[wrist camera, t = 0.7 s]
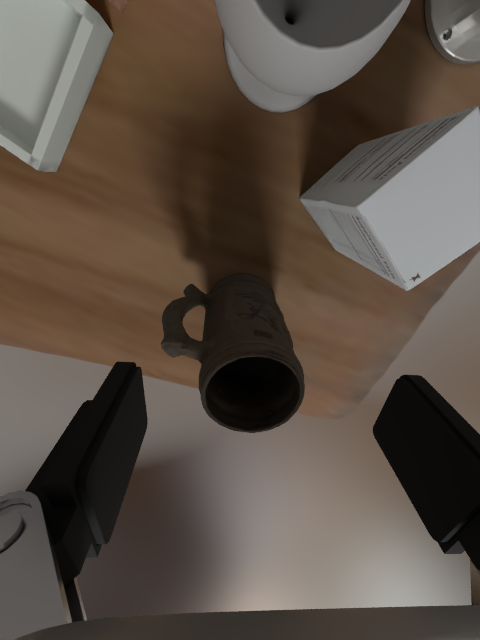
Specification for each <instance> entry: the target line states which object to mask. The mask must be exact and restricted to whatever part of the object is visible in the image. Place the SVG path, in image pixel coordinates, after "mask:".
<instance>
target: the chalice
mask: <svg viewBox="0 0 480 640" xmlns="http://www.w3.org/2000/svg"><path fill="white" fill-rule="evenodd" d="M410 1H411V0H215V4H216V9H217V14H218V18H219V20H220V23H221V25H222V28H223V45H224V50H225V56H226V62H227V65H228V67H229V70H230V73H231V76H232V78H233V80H234V82H235V83H236V85H237V87H238V88H239V90H240V91H241V93H242V94H243V95H244V96H245V97H246V98H247V99H248V100H249V101H250V102H251V103H253V104H254V105H256V106H258V107H259V108H261V109H264V110H267V111H270V112H283V113H284V112H288V111H292V110H296V109H298V108H300V107H301V106H303V105H305V104H307V103H308V102H309V101H310V100H311V99H313V98H314V97H315V96H316V95H317V94H319V93H323V92H326V91H329V90H332V89H334V88H335V87H337V86H338V85H340V84H341V83H343V82H345V81H346V80H348V79H349V78H351V77H352V76H354V75H355V74H356V73H358V72H359V71H360V70H361V69H362V68H363V67H364V66H365V65H366V64H367V63H368V62H369V61H370V60H371V59H372V58H373V57H374V56H375V55H376V53H377V52H378V51H379V49H380V48H381V47H382V45H383V44H384V43H385V41H386V40H387V38H388V37H389V35H390V34H391V32H392V31H393V30H394V28H395V27H396V25H397V24H398V22H399V21H400V19H401V18H402V16H403V14H404V13H405V11H406V9H407V7H408V5H409V3H410Z"/></svg>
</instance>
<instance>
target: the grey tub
mask: <svg viewBox="0 0 480 640" xmlns="http://www.w3.org/2000/svg"><path fill="white" fill-rule="evenodd" d="M112 37H113V32H112V31H111V30H110V28H109V27H108V25H107V24H106V23H105V21H104V20H103V19H102V17H101V16H100V14H99V13H98V12H97V11H96V10H95V9H94V8H93V7H92V6H90V5H89V4H88V3H87V2H86V1H85V0H0V145H1V146H3V147H4V148H5V149H7V150H8V151H10V152H11V153H13V154H14V155H16V156H17V157H19V158H20V159H21V160H23V161H24V162H26V163H27V164H29V165H30V166H32V167H33V168H35V169H36V170H38V171H48V172H57V170H58V167H59V165H60V163H61V160H62V158H63V155H64V153H65V150H66V148H67V146H68V143H69V141H70V138H71V136H72V134H73V131H74V129H75V126H76V124H77V121H78V119H79V117H80V114H81V112H82V109H83V107H84V105H85V102H86V100H87V97H88V95H89V92H90V90H91V88H92V85H93V83H94V80H95V78H96V76H97V73H98V71H99V68H100V66H101V63H102V61H103V59H104V56H105V54H106V51H107V49H108V46H109V44H110V42H111V39H112Z"/></svg>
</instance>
